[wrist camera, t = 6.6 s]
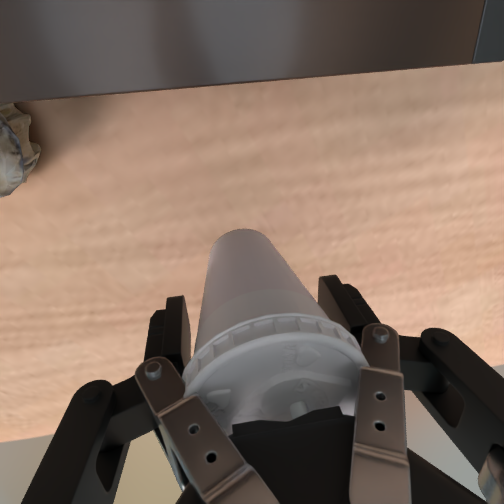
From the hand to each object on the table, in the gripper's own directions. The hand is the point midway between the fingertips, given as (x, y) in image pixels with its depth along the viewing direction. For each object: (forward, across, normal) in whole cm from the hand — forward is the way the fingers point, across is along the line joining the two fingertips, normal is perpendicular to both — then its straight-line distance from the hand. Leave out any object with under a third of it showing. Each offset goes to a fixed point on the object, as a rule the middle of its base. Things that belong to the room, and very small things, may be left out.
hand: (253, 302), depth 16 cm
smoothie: (+4, 0, 0) cm, 4 cm away
